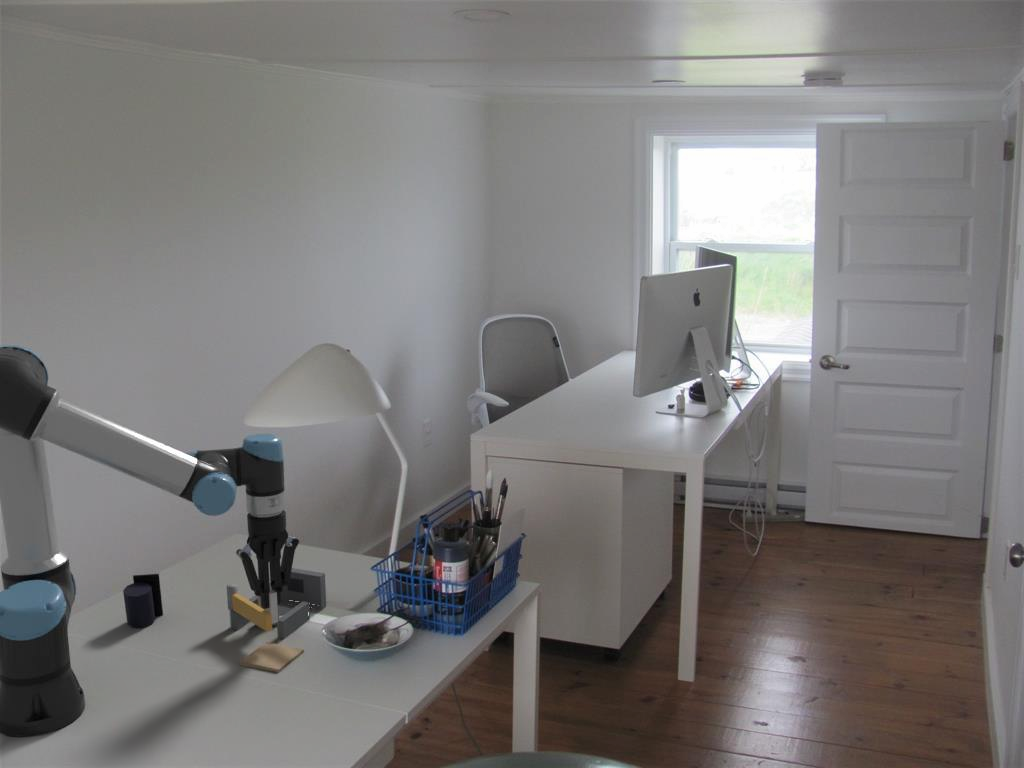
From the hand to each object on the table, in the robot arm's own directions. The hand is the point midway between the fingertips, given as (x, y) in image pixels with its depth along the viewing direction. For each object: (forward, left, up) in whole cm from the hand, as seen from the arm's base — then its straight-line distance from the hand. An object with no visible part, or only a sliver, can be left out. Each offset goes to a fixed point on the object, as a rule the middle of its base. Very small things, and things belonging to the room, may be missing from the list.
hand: (271, 620), depth 207 cm
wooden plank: (+2, +7, -1) cm, 7 cm away
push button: (+9, +6, -6) cm, 12 cm away
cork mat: (-4, -3, -6) cm, 8 cm away
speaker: (0, +32, -6) cm, 33 cm away
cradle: (+12, +7, -6) cm, 15 cm away
